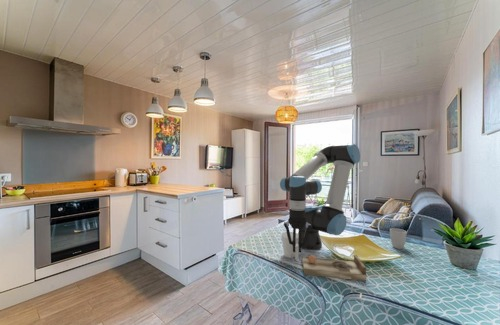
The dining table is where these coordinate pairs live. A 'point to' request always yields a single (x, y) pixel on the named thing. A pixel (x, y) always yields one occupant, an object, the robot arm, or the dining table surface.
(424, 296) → the dining table surface
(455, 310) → the dining table surface
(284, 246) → the cup
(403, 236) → the cup
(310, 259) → the ball
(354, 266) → the board
